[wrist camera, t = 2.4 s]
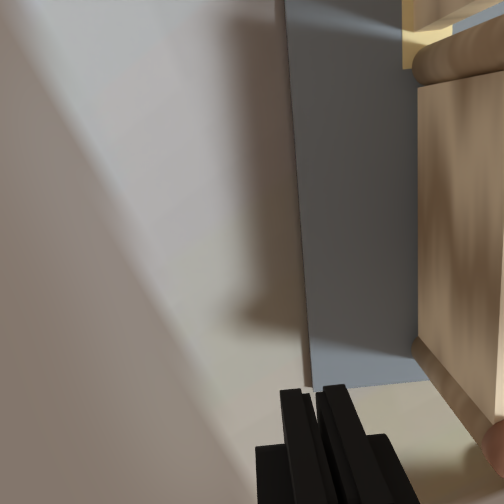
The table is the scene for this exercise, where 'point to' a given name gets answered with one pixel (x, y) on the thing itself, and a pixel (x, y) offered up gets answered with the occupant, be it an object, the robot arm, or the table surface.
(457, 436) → the table surface
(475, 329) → the fence swing panel
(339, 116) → the card
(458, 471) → the table surface
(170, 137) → the table surface
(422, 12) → the fence fixed section
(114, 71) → the table surface
